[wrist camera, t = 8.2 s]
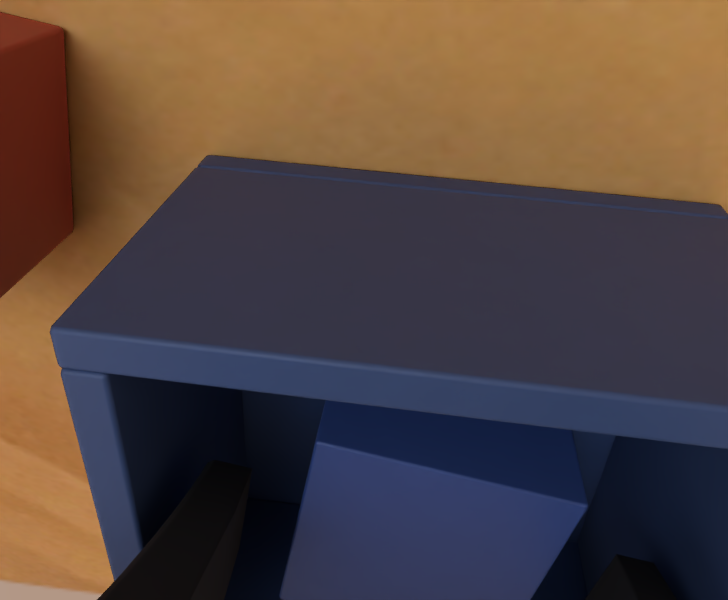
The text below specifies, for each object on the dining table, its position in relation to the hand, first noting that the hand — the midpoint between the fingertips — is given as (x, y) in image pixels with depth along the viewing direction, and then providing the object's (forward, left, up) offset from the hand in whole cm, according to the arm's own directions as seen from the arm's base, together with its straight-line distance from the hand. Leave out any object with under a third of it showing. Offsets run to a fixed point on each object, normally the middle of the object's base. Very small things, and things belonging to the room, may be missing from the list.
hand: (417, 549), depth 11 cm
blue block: (0, 0, -4) cm, 4 cm away
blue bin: (0, 0, -4) cm, 4 cm away
